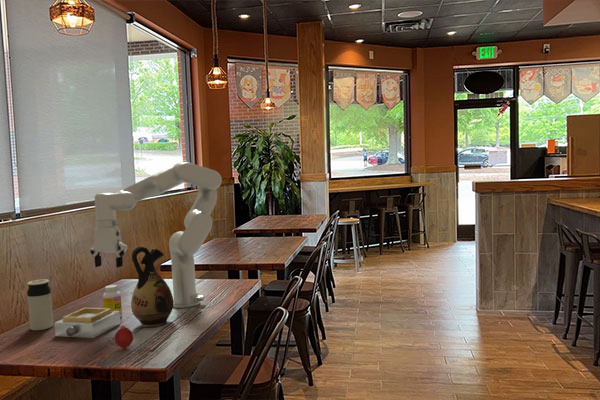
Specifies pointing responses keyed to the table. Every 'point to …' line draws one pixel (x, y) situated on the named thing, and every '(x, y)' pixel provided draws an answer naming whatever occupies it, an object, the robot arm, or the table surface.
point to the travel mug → (40, 305)
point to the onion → (123, 337)
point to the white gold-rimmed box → (87, 322)
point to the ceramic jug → (150, 291)
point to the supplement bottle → (112, 298)
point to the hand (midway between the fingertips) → (109, 266)
